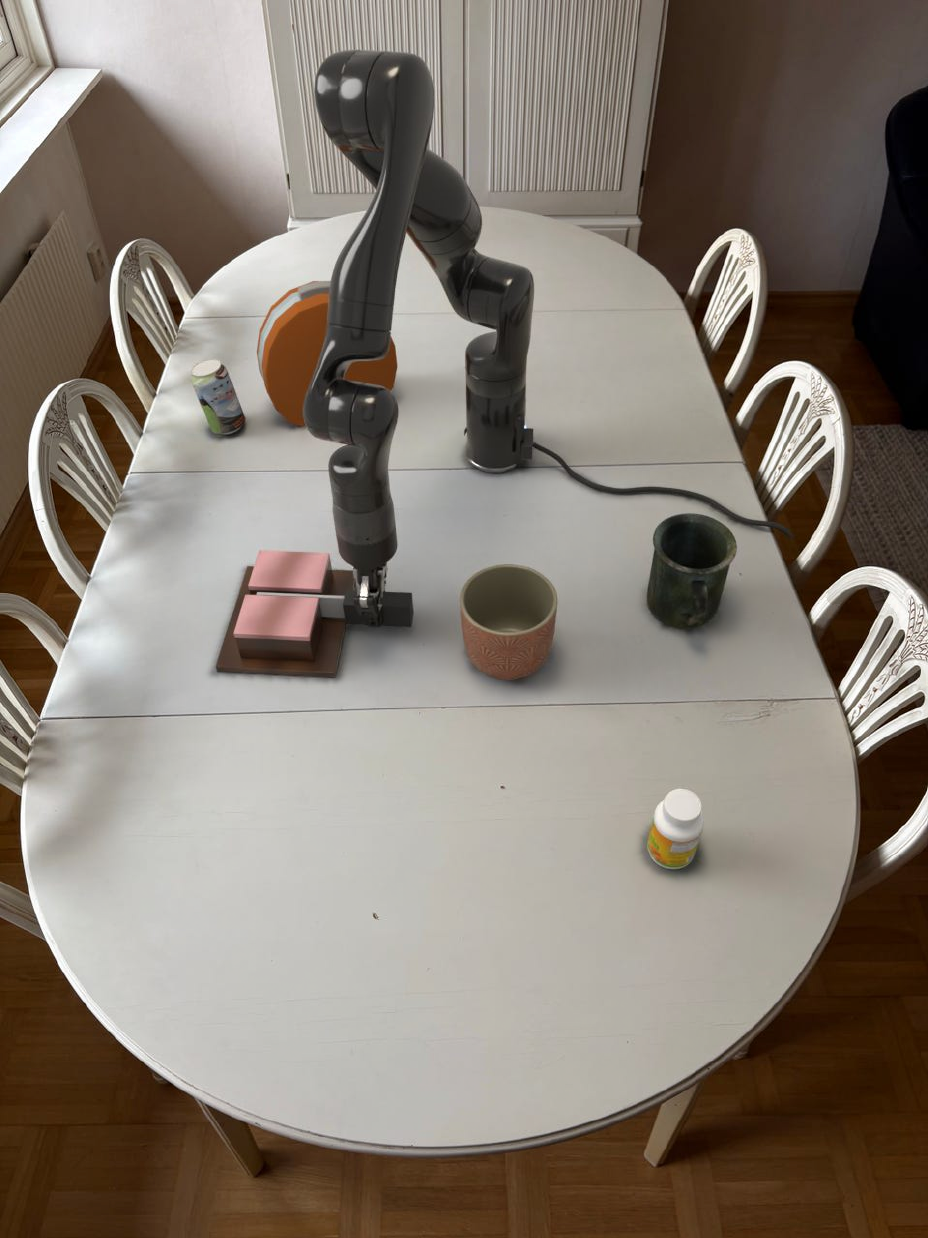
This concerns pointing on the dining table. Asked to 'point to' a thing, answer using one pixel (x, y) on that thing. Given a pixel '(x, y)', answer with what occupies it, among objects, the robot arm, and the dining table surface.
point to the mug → (689, 569)
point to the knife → (393, 611)
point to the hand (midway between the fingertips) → (376, 615)
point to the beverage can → (217, 396)
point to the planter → (508, 620)
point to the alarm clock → (306, 350)
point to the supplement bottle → (676, 829)
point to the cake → (286, 617)
